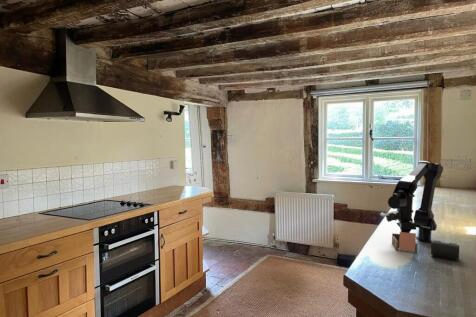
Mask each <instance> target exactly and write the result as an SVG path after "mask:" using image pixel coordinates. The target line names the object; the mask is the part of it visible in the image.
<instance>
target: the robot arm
mask: <svg viewBox="0 0 476 317" xmlns="http://www.w3.org/2000/svg"><path fill="white" fill-rule="evenodd" d="M443 172H444V167H443V165H441V163H434V162H432V161H429V160H428V161H427V160H419V162H418V163H417V165H416V166H415V168H413V170H412V171H410V173H409V174H408V175H407V176H404V177H401V178H400V179H399V180H398V182H397V183H396V185H395V188H394V190H393V192H392V195H391V196H390V197H389V198H388V200H387V204H388V206H389V207H390V208H391V209H393V210H394V211H389V212H385V213H384V215H385V218H386V221H387V222H388V223H389V222H392V221H395V222H396V221H397V222H396V225H397V226H398V227H399V229H400V232H406V233H411V231H412V230H414V231H416V230H417V228H418V233H417V236H416V240H418V242H424V243H425V242H426V243H432V241H433V239H432V231H436V230H437V227H438V225H437V222H436V221H435V215H434V212H433V210H432V207H433V201H434V196H435V190H436V183H437V181H438V180H439V179H440V178H441V177H442V174H443ZM423 177H424V185H423V190H422V195H421V201H420V207H419V208H418V209H415V211H414V210H413V200H414V199H413V198H414V197H416V195H415V194H414V193H415V192H416V191H417V190H418V183H419V182H420V181H421V179H422V178H423ZM413 213H414V216H413Z"/></svg>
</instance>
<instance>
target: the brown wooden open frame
mask: <svg viewBox="0 0 476 317" xmlns="http://www.w3.org/2000/svg"><path fill="white" fill-rule="evenodd" d="M391 235H392V236H391V245H392V247H393V248H394V249H395V251H398V249H399V238H400V233H393V232H392V234H391ZM418 246H419V244H418V242H417V241H415V251H416V252H415V253H416V254H417V253H418V248H419V247H418ZM398 252H399V251H398Z"/></svg>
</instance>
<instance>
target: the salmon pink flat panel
mask: <svg viewBox="0 0 476 317" xmlns="http://www.w3.org/2000/svg"><path fill="white" fill-rule="evenodd" d="M399 234H400V238H399V245H398V252H405V253H412V254H413V253H414V254H415V253H416V251H415V241H416V240H417V238H416V237H417V233H416V232H415V233H414V232H410V233H406V232H401V231H399ZM416 242H417V241H416Z"/></svg>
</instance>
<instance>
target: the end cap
mask: <svg viewBox="0 0 476 317" xmlns="http://www.w3.org/2000/svg"><path fill="white" fill-rule="evenodd" d="M430 243H431V245H430V255H431V257H435V258H440V259H446V260H452V261H455V262H456V261H458V260H460V244H457V243H455V242H454V243H453V242H442V241H441V240H432V242H430Z"/></svg>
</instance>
